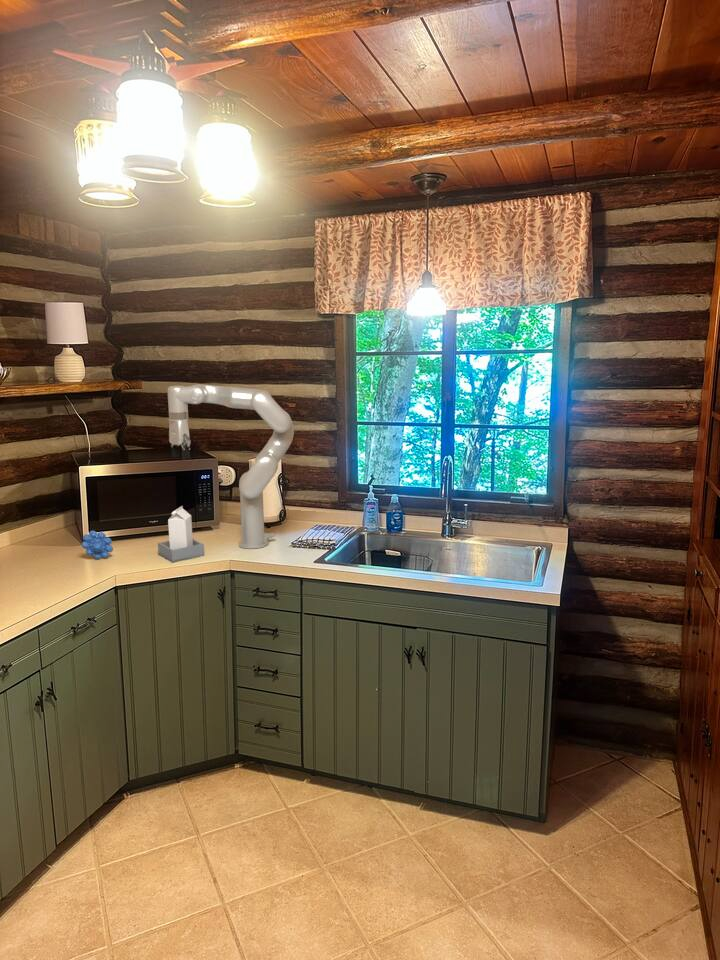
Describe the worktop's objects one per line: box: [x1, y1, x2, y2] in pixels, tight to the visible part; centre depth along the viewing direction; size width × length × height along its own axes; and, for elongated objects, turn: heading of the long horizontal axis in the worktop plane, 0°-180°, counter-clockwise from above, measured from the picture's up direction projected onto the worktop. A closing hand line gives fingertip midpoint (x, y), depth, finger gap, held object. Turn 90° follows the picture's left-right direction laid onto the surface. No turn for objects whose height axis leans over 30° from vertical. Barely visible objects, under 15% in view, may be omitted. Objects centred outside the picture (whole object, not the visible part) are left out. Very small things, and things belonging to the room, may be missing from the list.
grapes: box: [81, 530, 114, 560], centre depth 274 cm, size 12×7×12 cm, turn 108°
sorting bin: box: [157, 538, 205, 563], centre depth 280 cm, size 14×14×5 cm
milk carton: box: [167, 505, 194, 549], centre depth 278 cm, size 7×7×19 cm
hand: (181, 458), depth 283 cm, fingers open, 9 cm apart
